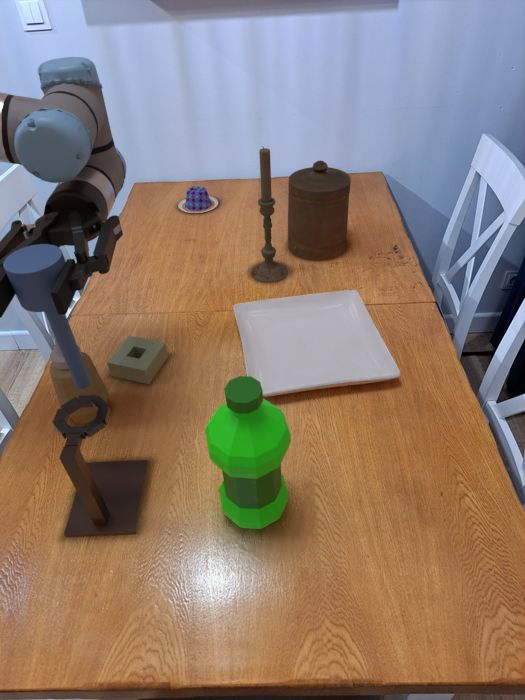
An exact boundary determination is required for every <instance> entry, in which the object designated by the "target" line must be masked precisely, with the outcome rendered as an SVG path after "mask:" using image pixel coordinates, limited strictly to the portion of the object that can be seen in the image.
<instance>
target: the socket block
mask: <svg viewBox="0 0 525 700" xmlns="http://www.w3.org/2000/svg"><path fill="white" fill-rule="evenodd" d="M167 349H168V348H167V344H166V343H165V342H163V341H158V340H154V339H153V340H152V339H147V338H144V337H143V338H142V337H137V336H132V335H128V336H127V337H126V338H125V340H124V341H123V342H122V343H121V345H120V346H119V347H118V348H117V350H115V352H114V353H113V354H112V355H111V356H110V358H109V359H108V360H107V362H106V363H107V367H108V370H109V372H110V375H111V377H114V378H117V379H121V380H123V379H124V380H127V381H132V382H137V383H141V384H145V385H150V384H151V382H152V381H153V380H154V378H155V377H156V375H157V374H158V372H159V371H160V369H161V368H162V366H163V365H164V364H165V362H166V360H167V359H168V358H169V354H168V350H167Z"/></svg>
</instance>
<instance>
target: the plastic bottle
mask: <svg viewBox="0 0 525 700" xmlns="http://www.w3.org/2000/svg"><path fill="white" fill-rule="evenodd" d="M224 395H225V396H224V397H225V402H226V403H223V404H221V405H219V406H218V407H217V409H216V410H215V412H214V413H213V415H212V416H211V418H210V419H209V421H208V422H207V424H206V426H205V429H204V433H205V439H206V443H207V445H206V446H207V450H208V456H209V459H210V461H211V462H212V464H213V465H214V466H216V467H217V468H218V469H220V470H221V471H222V472H221V473H222V477H223V480H222V482H221V484H220V486H219V487H218V494H219V499H220V505H221V506H220V507H221V511H222V514H223V515H225V516H226V517H227V518H228V519H229V520H230V521H232V522H233V524H235V525H237V526H238V527H239V528H240V529H251V530H252V529H253V530H262V529H264V528H266V527H267V526H269V525H271V524H273V523H275V522H276V521H278V520H279V519H281V517H282V515H283V513H284V510H285V508H286V506H287V504H288V501H289V500H290V499H289V498H290V495H289V489H288V487H287V483H286V480H285V477H284V475H283V474H282V462H283V460H284V459H285V456H286V454H287V452H288V451H289V448H290V445H291V442H292V434H291V432H290V428H289V425H288V422H287V419H286V416H285V413H284V412H283V411H282V409H281V408H279V407H278V406H276V405H275V404H273V403H271V402H270V401H269V400H266V399H265V398H264V397H263V392H262V387H261V384H260V382H259V381H258V380H256V379H255V378H253V377H251V376H247V375H239V376H236V377H234V378H232V379H230V380H229V381H228V382H227V384H226V385H225V387H224Z"/></svg>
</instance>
